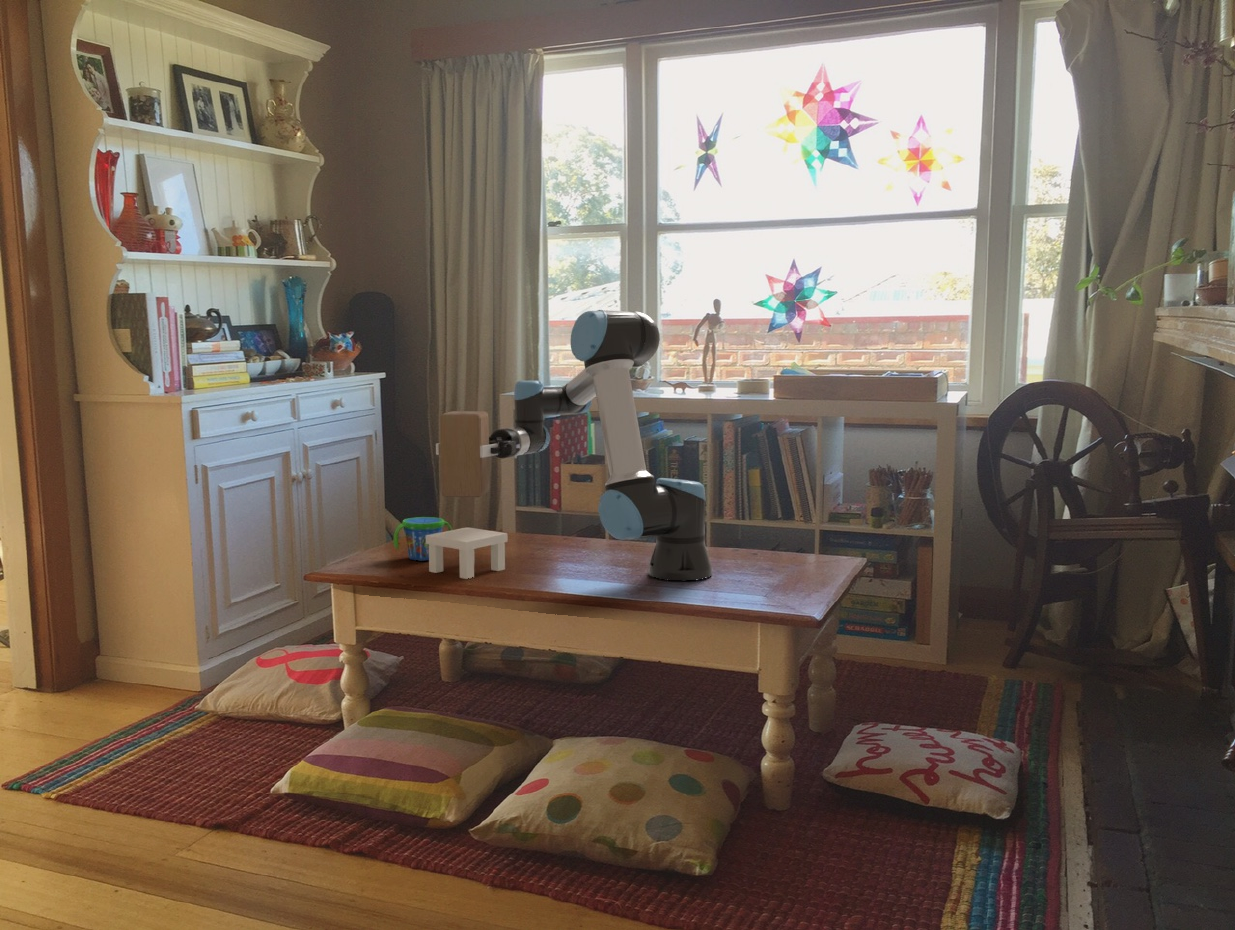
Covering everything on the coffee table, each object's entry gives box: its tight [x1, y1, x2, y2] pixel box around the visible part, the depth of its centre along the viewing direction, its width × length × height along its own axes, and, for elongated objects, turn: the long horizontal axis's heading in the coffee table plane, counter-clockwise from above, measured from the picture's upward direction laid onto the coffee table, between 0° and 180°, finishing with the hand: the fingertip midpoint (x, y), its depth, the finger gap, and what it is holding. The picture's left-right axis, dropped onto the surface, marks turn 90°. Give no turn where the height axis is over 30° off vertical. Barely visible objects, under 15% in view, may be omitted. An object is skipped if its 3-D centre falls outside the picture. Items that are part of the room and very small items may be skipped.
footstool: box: [426, 526, 509, 580], centre depth 251 cm, size 14×14×9 cm
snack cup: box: [392, 516, 453, 562], centre depth 264 cm, size 16×10×10 cm
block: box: [439, 410, 491, 498], centre depth 248 cm, size 10×10×20 cm
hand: (458, 450), depth 245 cm, fingers closed on block, 12 cm apart
